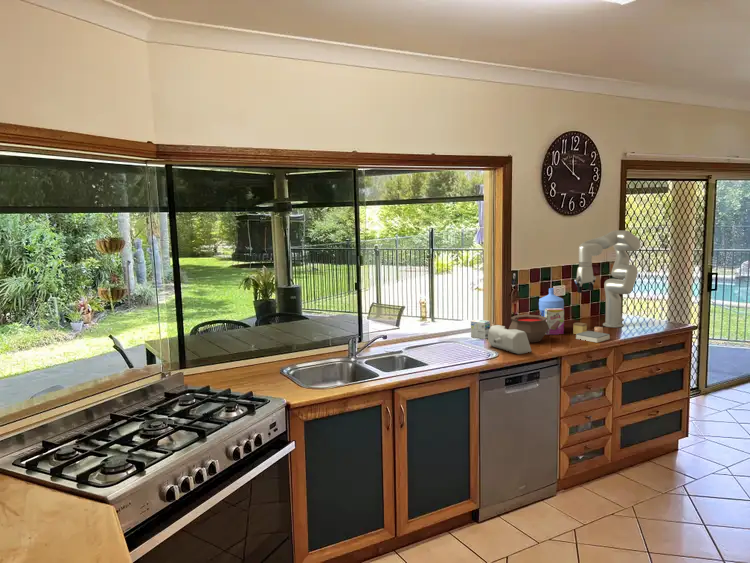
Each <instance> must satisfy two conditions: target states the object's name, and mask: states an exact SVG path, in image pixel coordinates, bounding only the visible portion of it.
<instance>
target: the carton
mask: <svg viewBox="0 0 750 563" xmlns="http://www.w3.org/2000/svg"><path fill="white" fill-rule="evenodd" d="M572 326H573V327H572V328H573V330H572V332H573V335H574V334H578V333H582V332H585V331H588V330H587V329H588V323H583V322H574V323H573V324H572Z"/></svg>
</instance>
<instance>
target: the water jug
mask: <svg viewBox="0 0 750 563" xmlns="http://www.w3.org/2000/svg"><path fill="white" fill-rule="evenodd" d="M554 293H555V288H554V287H549V288H548V294H547V295H544V296H542V297H540V298H539V299H538V310H539V312H541V313H542V315H541V313H540V315H541V316H543V317H545V309H549V308H562V309H564V306H565V302H564V300H565V299H564V298H562V297H560V296H558V295H556V294H554ZM564 310H565V309H564Z"/></svg>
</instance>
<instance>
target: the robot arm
mask: <svg viewBox="0 0 750 563" xmlns="http://www.w3.org/2000/svg"><path fill="white" fill-rule="evenodd" d="M611 247H613V249H614V252H615V260H614V263H613V266H612V269H611V276H612V278H609V279H606V280H605V281H604V284H603V285H604V288H603V289H604V293H605V294H604V295H605V319H604V320H605V322H603V323H602V327H606V328H623V327H624V326H625V325H624V324H623V323H622V322H624V320H625V319H624V318H623V317H622V297H621V296H620V295H630V294H631V293H632V291H633V289H634V286H635V284H636V281H637V277H638V268H637V266H635V265H634V264H630V259H631V258H630V256H629V254H628V253H627V252H630V251H631V252H635V251H638V250H639V249H640V247H641V242H640V239H639V238H638V237H637V236H635V234H633V233H632V232H631V231H628V230H626V229H625V230H611V231H609V232H608V233H606V234H603V236H599V237H595V238H591V239H588V240H586V241H583V242H582V243H581V244H579V246H578V267H577V270H576V278H575V279H574V283H575V284H574V285H576V287H577V290H576V291H577V293H579V294H582V293H583V284H588V291H590V292H594V285H595V282H596V279H597V277H596V276H595V275H594V269H593V260H592V259H593V257H592V256H594V257H595V256H596V257H597V256H600V255H601V254H602V253H603V250H606V249H609V248H611Z"/></svg>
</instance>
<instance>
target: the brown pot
mask: <svg viewBox="0 0 750 563" xmlns="http://www.w3.org/2000/svg"><path fill="white" fill-rule="evenodd" d="M540 313H541V312H540V311H539V312H538V313H537V314H538V315H535V314H521V315H520V314H519V315H514V316H511V317H510V319H511V323H510V325H509V327H508V329H517V330H521V331H524V332H525V333H526V334H527V338H528V341H529V343H530V342H531V343H537V342H538V343H539V342H540V341H542V339H544V337H545V336H546V332H547V331H548V330H549V327H548V324H547V322H546V319H547V318H546V317H544V315H543V316H541V315H542V313H541V315H540Z"/></svg>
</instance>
